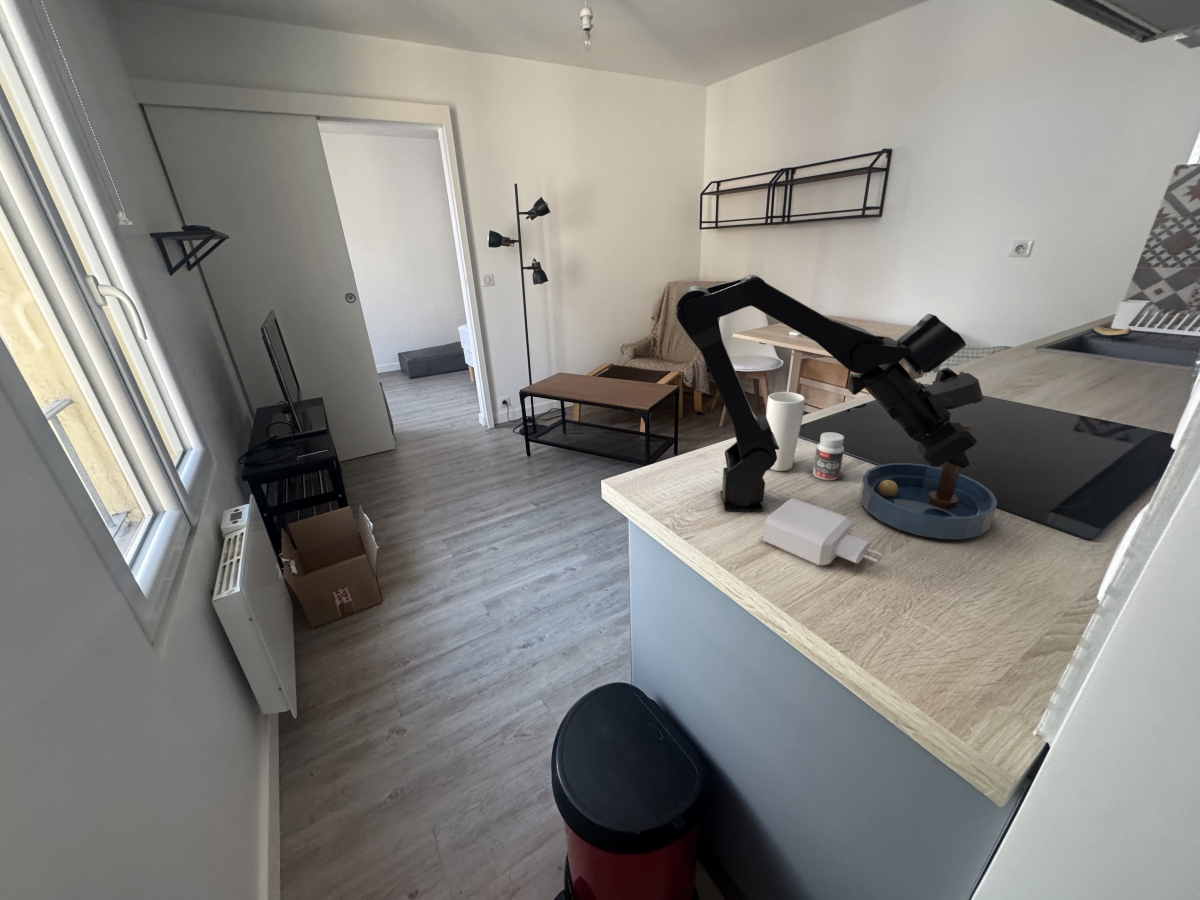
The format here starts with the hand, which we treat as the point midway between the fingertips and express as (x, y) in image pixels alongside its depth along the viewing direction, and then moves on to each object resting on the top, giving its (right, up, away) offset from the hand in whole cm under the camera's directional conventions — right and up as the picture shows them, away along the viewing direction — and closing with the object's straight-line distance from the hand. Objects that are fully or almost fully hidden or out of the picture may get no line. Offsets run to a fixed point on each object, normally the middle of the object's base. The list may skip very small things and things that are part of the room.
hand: (963, 462), depth 73 cm
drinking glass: (-20, -2, +23) cm, 31 cm away
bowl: (-3, -8, +5) cm, 10 cm away
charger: (-23, -14, -2) cm, 27 cm away
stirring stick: (-1, -7, +4) cm, 8 cm away
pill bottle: (-13, -3, +18) cm, 23 cm away
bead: (-7, -5, +8) cm, 12 cm away
